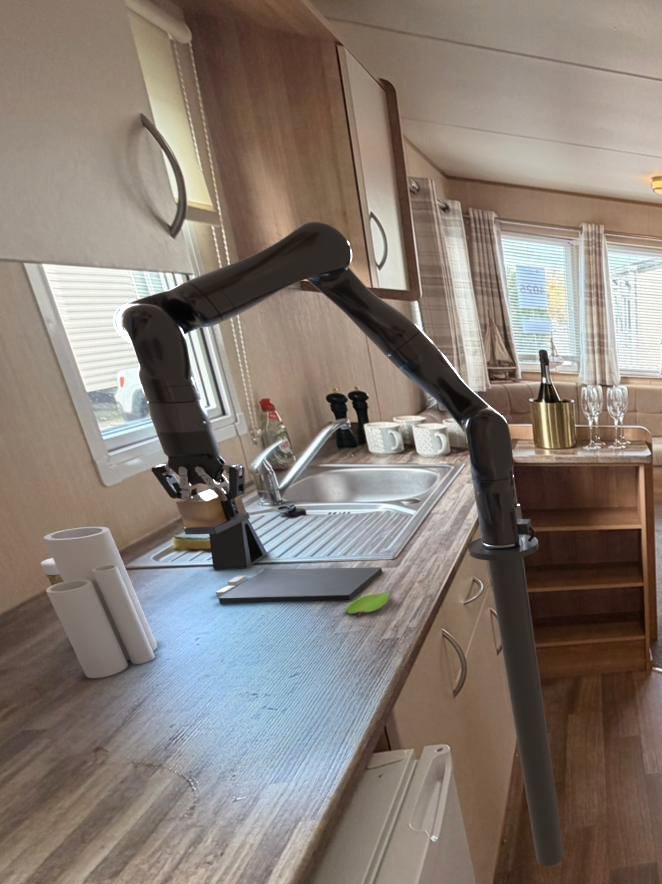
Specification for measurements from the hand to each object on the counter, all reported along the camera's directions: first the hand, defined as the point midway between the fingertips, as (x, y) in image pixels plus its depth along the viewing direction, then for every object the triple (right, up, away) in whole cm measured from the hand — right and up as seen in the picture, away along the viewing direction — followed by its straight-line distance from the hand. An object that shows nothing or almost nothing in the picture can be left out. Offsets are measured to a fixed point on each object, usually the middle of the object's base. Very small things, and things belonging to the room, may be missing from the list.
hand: (216, 519), depth 120 cm
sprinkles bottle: (-8, -21, -13) cm, 26 cm away
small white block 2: (-3, -11, +8) cm, 14 cm away
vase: (+4, -25, -20) cm, 32 cm away
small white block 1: (-1, -13, +3) cm, 14 cm away
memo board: (+11, -13, +8) cm, 18 cm away
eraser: (0, -1, +1) cm, 1 cm away
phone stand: (-11, -7, +18) cm, 23 cm away
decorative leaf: (+28, -17, +1) cm, 33 cm away
